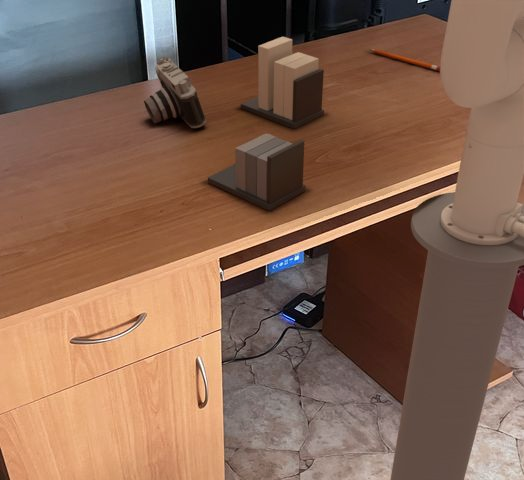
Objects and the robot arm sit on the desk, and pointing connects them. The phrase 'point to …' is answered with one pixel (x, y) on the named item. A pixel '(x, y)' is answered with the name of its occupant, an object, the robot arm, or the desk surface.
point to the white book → (270, 68)
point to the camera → (174, 96)
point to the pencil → (406, 59)
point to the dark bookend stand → (293, 92)
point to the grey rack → (264, 172)
